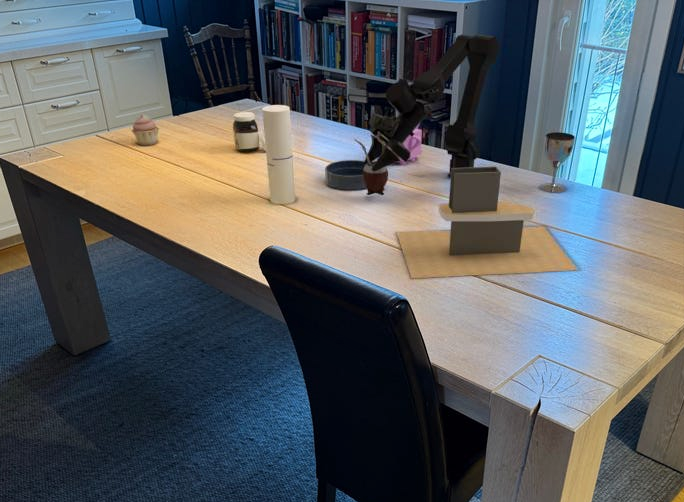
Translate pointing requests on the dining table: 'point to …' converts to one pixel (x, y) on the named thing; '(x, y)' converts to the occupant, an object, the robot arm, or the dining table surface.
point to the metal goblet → (557, 155)
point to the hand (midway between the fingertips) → (368, 167)
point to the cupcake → (145, 131)
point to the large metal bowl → (345, 174)
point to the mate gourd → (374, 176)
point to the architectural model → (481, 234)
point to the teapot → (413, 145)
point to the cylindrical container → (279, 153)
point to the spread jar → (247, 133)
